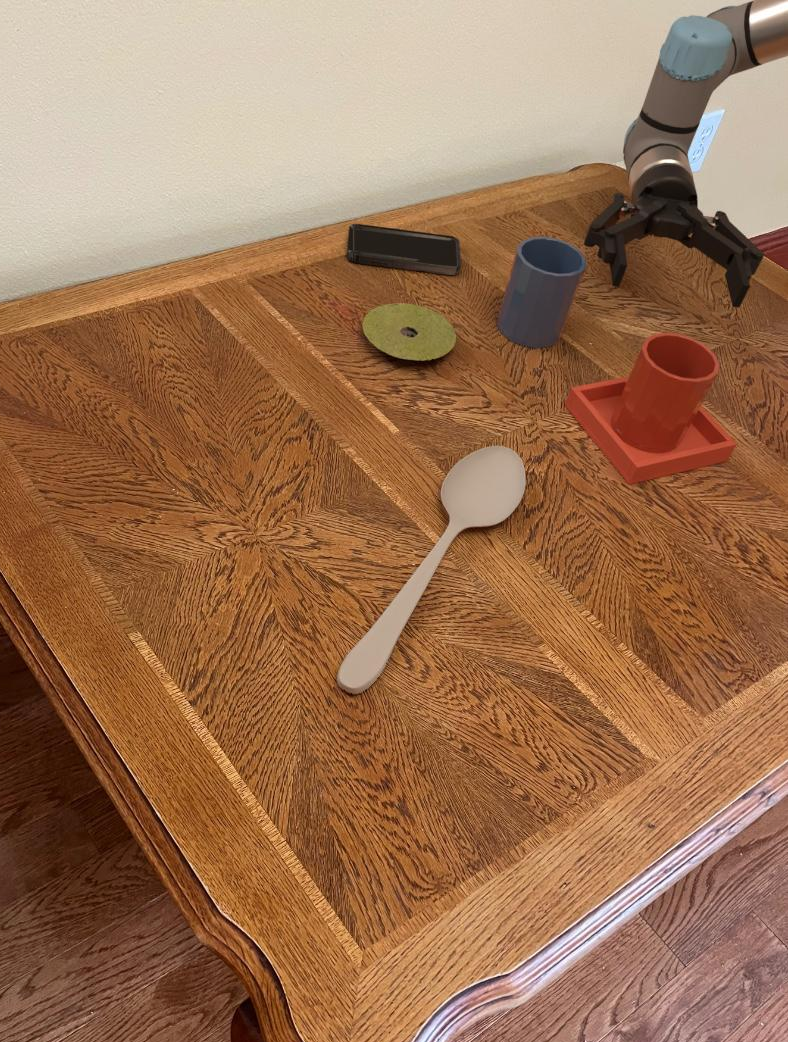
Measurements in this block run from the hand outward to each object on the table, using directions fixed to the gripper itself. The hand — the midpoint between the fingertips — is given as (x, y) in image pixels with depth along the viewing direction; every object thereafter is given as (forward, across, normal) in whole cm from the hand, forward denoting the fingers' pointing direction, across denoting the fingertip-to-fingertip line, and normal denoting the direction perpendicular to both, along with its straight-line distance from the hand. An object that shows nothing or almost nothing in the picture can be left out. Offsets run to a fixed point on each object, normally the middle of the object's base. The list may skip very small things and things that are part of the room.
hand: (680, 286), depth 103 cm
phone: (-19, +30, -13) cm, 38 cm away
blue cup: (-7, +13, -13) cm, 20 cm away
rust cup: (+10, 0, -12) cm, 16 cm away
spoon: (+36, +23, -13) cm, 44 cm away
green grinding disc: (+1, +28, -13) cm, 31 cm away
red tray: (+10, 0, -13) cm, 16 cm away
